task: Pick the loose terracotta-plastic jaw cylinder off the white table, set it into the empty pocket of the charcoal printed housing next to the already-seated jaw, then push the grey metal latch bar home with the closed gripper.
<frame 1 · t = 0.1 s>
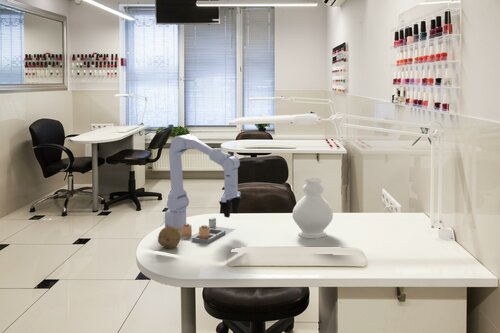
hand: (231, 215, 230), 10 cm above the table, fingers open, 7 cm apart
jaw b: (186, 237, 230), on the table
decorative vase: (312, 234, 236), on the table
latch: (212, 222, 242), point 3 cm above the table, slide at 0.0 cm, touching housing
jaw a: (204, 239, 223), point 1 cm above the table, touching housing
housing: (210, 237, 231), on the table
natural sponge: (169, 250, 214), on the table
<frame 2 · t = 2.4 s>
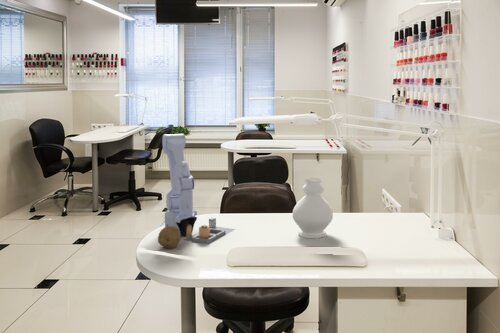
hand: (186, 234, 230), 1 cm above the table, fingers closed on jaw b, 4 cm apart
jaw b: (186, 237, 230), on the table, touching gripper
everything else where it was.
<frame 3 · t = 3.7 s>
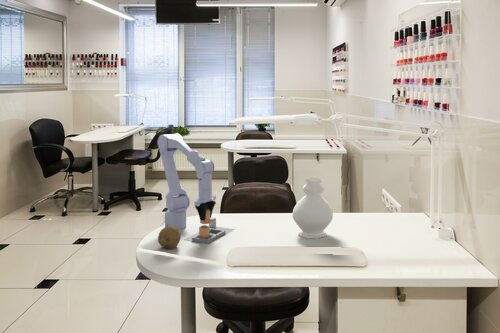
hand: (205, 218, 229), 9 cm above the table, fingers closed on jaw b, 4 cm apart
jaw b: (205, 222, 229), point 7 cm above the table, touching gripper
everything else where it was.
when the fingers open (4 cm above the table, at t = 5.2 s): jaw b drops 1 cm, resting on housing.
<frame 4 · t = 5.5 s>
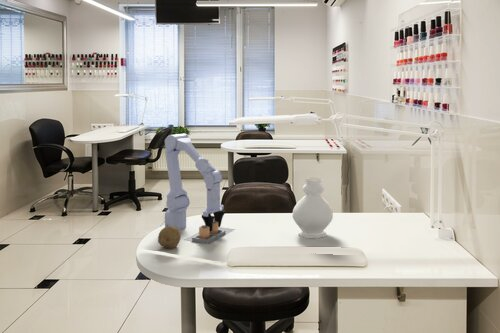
hand: (213, 228, 230), 4 cm above the table, fingers open, 7 cm apart
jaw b: (213, 234, 231), point 1 cm above the table, touching housing
everything else where it was.
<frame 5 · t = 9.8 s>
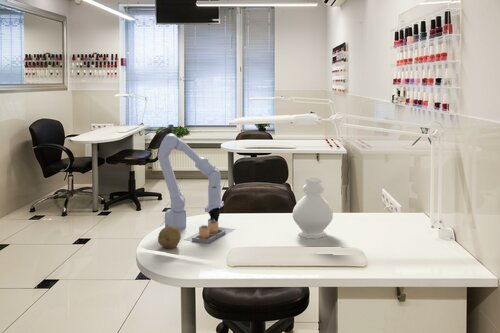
hand: (214, 223, 244), 2 cm above the table, fingers closed
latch: (211, 223, 242), point 3 cm above the table, slide at 0.8 cm, touching gripper, housing
everything else where it was.
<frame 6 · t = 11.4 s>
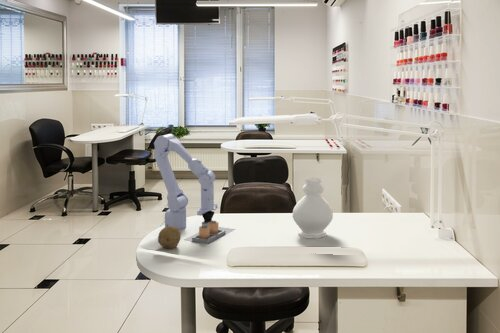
hand: (207, 227, 239), 2 cm above the table, fingers closed, pressing on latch
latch: (205, 226, 237), point 3 cm above the table, slide at 6.2 cm, touching gripper, housing
everything else where it was.
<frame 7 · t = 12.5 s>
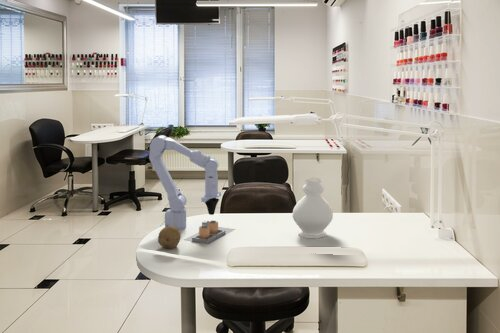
hand: (211, 214, 241), 7 cm above the table, fingers closed
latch: (205, 226, 237), point 3 cm above the table, slide at 6.0 cm, touching housing
everything else where it was.
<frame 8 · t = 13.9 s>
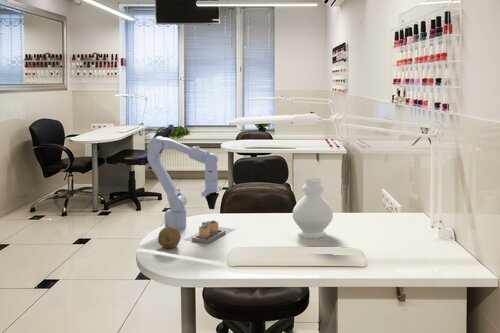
hand: (211, 208, 241), 10 cm above the table, fingers closed
nothing on the table moved.
at the end: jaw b 0.2 cm from the target spot on the housing, point 1.2 cm above the housing's base; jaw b tilted 1°; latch slide at 6.0 cm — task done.
